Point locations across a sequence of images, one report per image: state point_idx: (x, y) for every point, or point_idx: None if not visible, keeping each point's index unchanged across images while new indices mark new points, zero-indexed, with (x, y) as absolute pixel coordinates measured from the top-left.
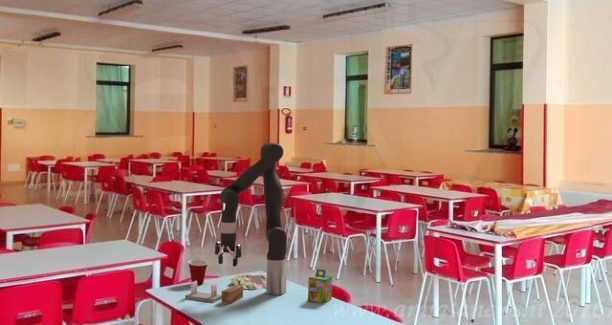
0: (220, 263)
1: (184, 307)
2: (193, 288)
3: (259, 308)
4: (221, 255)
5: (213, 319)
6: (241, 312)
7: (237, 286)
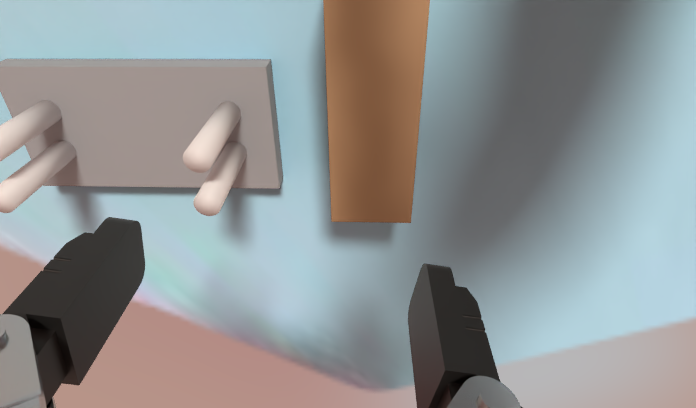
0: (140, 271)
1: (201, 302)
2: (46, 178)
3: (636, 174)
4: (48, 361)
5: None
6: (536, 272)
7: (387, 30)
